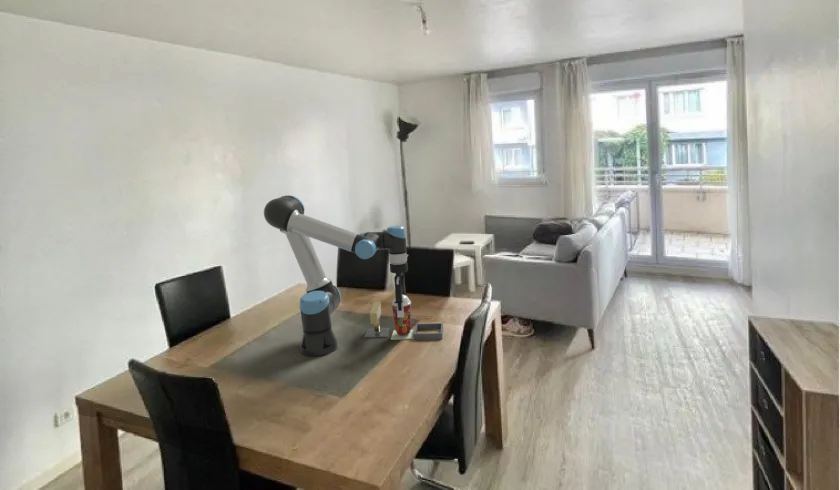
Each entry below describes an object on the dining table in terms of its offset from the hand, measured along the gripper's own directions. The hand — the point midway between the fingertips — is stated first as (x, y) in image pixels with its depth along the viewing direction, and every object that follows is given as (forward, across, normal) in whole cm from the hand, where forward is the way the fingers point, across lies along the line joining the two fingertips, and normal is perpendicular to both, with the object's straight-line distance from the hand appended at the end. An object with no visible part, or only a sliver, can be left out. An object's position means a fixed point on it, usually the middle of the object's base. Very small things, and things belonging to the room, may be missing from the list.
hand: (402, 313), depth 214 cm
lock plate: (+10, +2, +12) cm, 16 cm away
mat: (+10, 0, 0) cm, 10 cm away
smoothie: (+9, 0, 0) cm, 9 cm away
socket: (+10, 0, -11) cm, 15 cm away
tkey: (+9, +2, +12) cm, 15 cm away
